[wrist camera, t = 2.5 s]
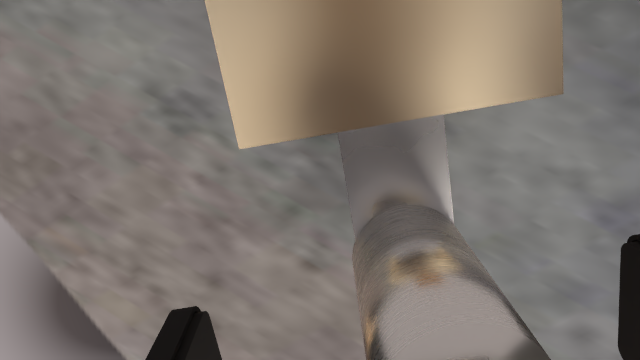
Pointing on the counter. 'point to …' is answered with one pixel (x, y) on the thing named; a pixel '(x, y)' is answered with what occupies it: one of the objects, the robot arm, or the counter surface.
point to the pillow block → (378, 61)
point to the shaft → (420, 254)
